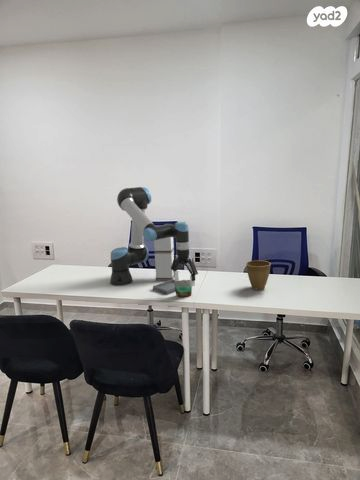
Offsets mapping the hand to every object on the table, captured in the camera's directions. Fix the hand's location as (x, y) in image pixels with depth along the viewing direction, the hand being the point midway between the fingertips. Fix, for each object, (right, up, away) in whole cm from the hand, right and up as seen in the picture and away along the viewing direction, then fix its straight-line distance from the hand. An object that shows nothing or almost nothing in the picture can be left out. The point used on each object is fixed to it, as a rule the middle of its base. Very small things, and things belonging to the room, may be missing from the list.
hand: (184, 283), depth 203 cm
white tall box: (-13, -1, +38) cm, 40 cm away
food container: (0, -8, +2) cm, 8 cm away
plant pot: (+46, -4, +11) cm, 48 cm away
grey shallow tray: (-9, -5, +17) cm, 20 cm away
